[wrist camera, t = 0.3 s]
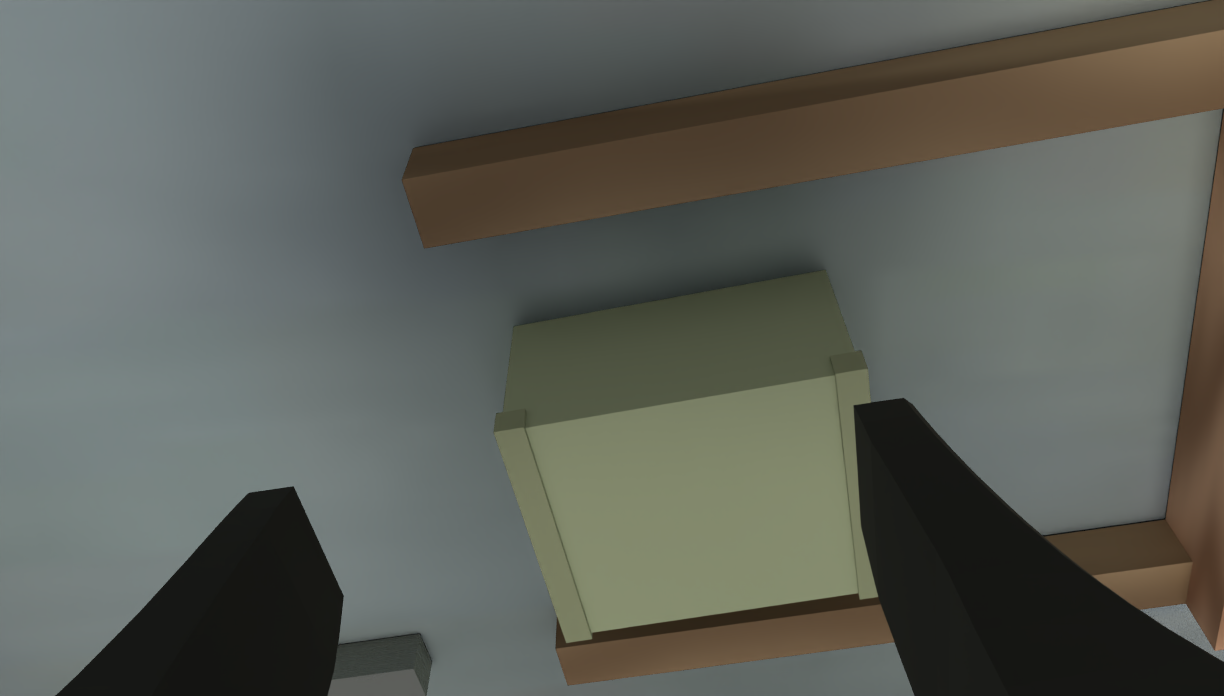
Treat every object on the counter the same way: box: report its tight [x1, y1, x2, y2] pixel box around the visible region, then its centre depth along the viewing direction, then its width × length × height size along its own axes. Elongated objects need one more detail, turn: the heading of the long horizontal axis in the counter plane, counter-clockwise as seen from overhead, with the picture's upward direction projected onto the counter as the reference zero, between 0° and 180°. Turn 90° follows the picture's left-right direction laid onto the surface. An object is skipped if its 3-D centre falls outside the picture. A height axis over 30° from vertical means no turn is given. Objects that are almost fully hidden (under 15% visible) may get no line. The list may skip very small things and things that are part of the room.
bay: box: [402, 0, 1224, 685], centre depth 23 cm, size 15×18×3 cm
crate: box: [494, 270, 878, 643], centre depth 23 cm, size 6×7×4 cm
